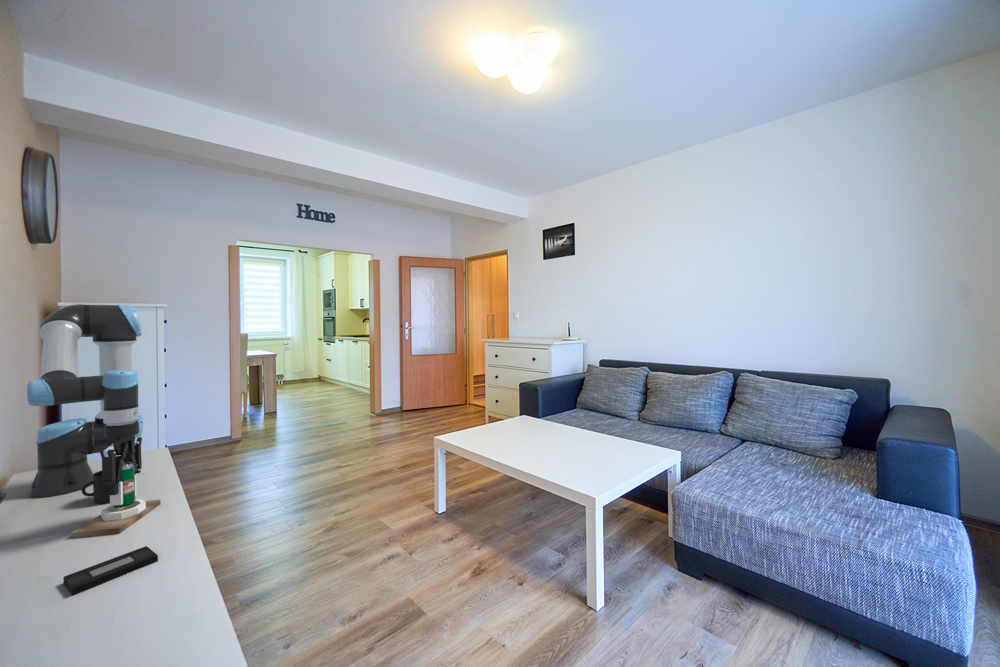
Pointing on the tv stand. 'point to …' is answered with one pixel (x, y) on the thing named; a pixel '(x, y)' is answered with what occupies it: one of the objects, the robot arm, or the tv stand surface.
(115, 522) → the walnut board
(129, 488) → the soda can
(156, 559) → the vhs tape
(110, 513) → the socket ring
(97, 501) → the mug
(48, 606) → the tv stand surface
